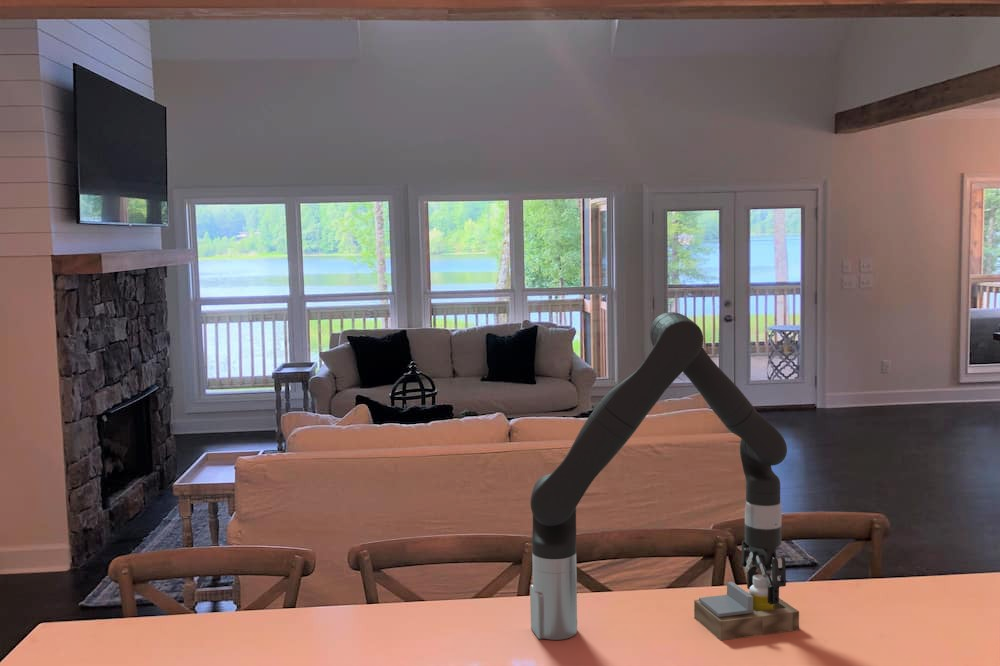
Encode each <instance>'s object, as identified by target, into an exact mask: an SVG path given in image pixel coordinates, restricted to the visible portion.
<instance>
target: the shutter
mask: <svg viewBox="0 0 1000 666" xmlns="http://www.w3.org/2000/svg"><path fill="white" fill-rule="evenodd" d="M698 600H699V601H700V602H701V603H702V604H703V605H704V606H706V607H707V608H708V609H709V610H711V611H712V612H713V613H714V614H716V615H717V616H718V617H724V616H732V615H740V614H747V613H754V609H753V596H752V595H750V594H749V591H746V590H744V589H743V588H742V587H740V586H739V585H738V584H736V583H735V582H733V581H727V582H726V594H723V595H722V594H720V595H713V596H705V597H699V598H698Z"/></svg>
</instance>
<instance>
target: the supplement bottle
mask: <svg viewBox="0 0 1000 666" xmlns="http://www.w3.org/2000/svg"><path fill="white" fill-rule="evenodd" d="M770 577H771V580H772V576H770ZM753 584H754V585H752V586H750V588H749V589H748V593H749V594H750V595H752V596H753V609H754V610H755V611H756V612H757V611H765V610H773V609H775V604H772V605H771V604H769V603H768V583H767V580H766V578H765V577H763V575H762V573H761V574H759V573H758V574H757V575H754V576H753Z"/></svg>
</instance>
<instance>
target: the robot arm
mask: <svg viewBox="0 0 1000 666" xmlns="http://www.w3.org/2000/svg"><path fill="white" fill-rule="evenodd" d="M702 331H703V330H701V328H700V326H699V325H698V324H697V323H695V321H693V320H692V319H690V318H689V317H688V316H686V315H684V314H681V313H679V312H676V311H675V312H674V311H673V312H672V311H668V312H664V313H661V314H660V315H658V316H657V317H655V319H654V320H653V322H652V323H651V326H650V330H649V337H650V342H651V344H652V347H653V348H651V350H650V352H649V353H648V355H647V356H646V358H645V359H644V360H643V362H642V363H641V364H640V365H639V367H638V368H636V370H635V371H634V372H633V373H631V375H629V376H628V377H627V378H625V379H623V381H621V382H619V383H618V384H617V385H616V386H614V387H613V388H612V389H610V390H609V391H608V392H607V393H606V394H605V395H604V397H603V398H602V399H601V400H600V401H599V403H598V404H597V405H596V406H595V407H594V408H593V411H592V412H591V413H590V414H589V416H588V417H587V419H586V421H584V424H583V425H582V427H581V429H580V430H579V432H578V434H577V436H576V437H575V439H574V442H573V443H572V445H571V446H570V449H569V451H568V453H567V454H566V455H565V458H564V459H563V460H562V461H561V462H560V464H559V465H558V466H557V467H556V468H555V469H554V470H553V472H552V473H549V474H545V475H543V476H542V477H540V478H539V479H538V480H537V481H536V483H534V486H533V487H532V491H531V495H530V501H529V502H530V509H531V512H532V533H531V534H532V535H531V536H532V537H531V549H532V550H531V551H532V553H531V554H532V555H531V556H532V557H531V558H532V561H531V562H532V584H531V585H530V586H529V591H530V592H529V595H530V606H529V607H530V629H531V630H532V632H533V633H534V635H535V636H536V638H537V639H539V640H543V639H546V640H553V641H555V640H557V641H558V640H559V641H560V640H561V641H562V640H566V639H570V638H573V637H574V636H576V634H577V633H578V598H577V597H578V594H577V593H578V592H577V591H578V586H577V583H578V582H577V581H578V580H577V506H578V505H579V503H580V502H581V500H582V498H583V497H584V496H585V493H586V492H587V490H588V489H589V488H590V486H591V484H592V483H593V481H594V480H595V479H596V477H597V476H598V475H599V474H600V473H601V472H602V471H603V470H604V469H605V467H606V466H607V465H608V464H609V463H610V462H611V461H612V459H613V458H614V457H615V456H616V455H617V454H618V453H619V452H620V450H621V449H622V448H623V447H624V446H625V444H627V442H628V441H629V440H630V438H631V437H632V436H633V435H634V433H635V432H636V431H637V429H638V428H639V427H640V425H641V424H642V422H643V421H644V420H645V418H646V417H647V415H648V414H649V413H650V412H651V410H652V409H653V408H654V406H655V405H656V404H657V402H658V401H659V399H661V397H662V396H663V394H664V393H665V392H666V390H667V389H668V388H669V387H670V386H671V385H672V384H673V382H674V381H676V379H677V378H678V377H679V376H680V375H681V374H682V373H683V374H684V375H685V376H686V377H687V378H688V380H689V381H690V382H691V383H692V385H693V386H694V387H695V389H696V390H697V391H698V392H699V394H700V395H701V397H703V399H704V400H705V402H706V403H707V404H708V406H709V408H710V409H711V410H712V411H713V413H714V414H715V416H717V417H718V419H719V420H720V421H721V422H722V424H723V425H724V426H725V427H726V429H727V430H728V431H730V433H732V434H734V435H735V436H737V437H739V438H740V442H739V453H740V454H739V455H740V460H741V463H742V469H743V474H744V477H745V483H746V484H745V485H746V486H745V507H744V540H742V541H741V553H740V554H741V558H740V565H741V567H742V568H743V567H744V570H745V572H746V573H747V574H746V581H747V582H746V585H747V586H746V587H747V588H746V589H748V590H749V588H750V586H752V585H754V584H753V576H754V575H757V574H759V572H758V571H759V570H760V572H761V574H762V575H763V577H765V578H766V580H767V583H768V603H769V604H771V605H772V604H778V603H779V598H780V588H781V587H782V588H783V587H786V585H787V578H786V577H787V576H786V574H787V572H786V571H787V569H786V559H785V557H778V556H777V548H779V547H780V546H781V545H782V506H781V480H780V478H779V476H778V475H777V474H776V473H775V472H774V471H773V468H772V467H773V466H777V465H779V464H782V462H783V461H784V460H785V459H786V456H787V454H788V446H787V443H786V440H785V438H784V437H783V435H782V434H781V433H780V432H779V430H777V428H775V427H774V425H772V424H771V423H770V422H769V420H767V419H766V418H764V417H763V416H762V415H761V414H760V413H759V412H758V411H757V409H756V408H755V407H754V406H753V404H752V403H751V402H750V401H749V399H748V398H747V397H746V395H744V393H743V391H741V390H740V388H739V387H738V386H737V385H736V383H735V382H733V381H732V380H731V378H730V377H728V375H727V374H725V372H724V371H723V370H722V369H721V368H720V367H719V366H718V365H717V364H716V363H715V362H714V360H713V359H712V358H711V357H710V355H708V353H707V352H706V350H705V349H704V348H703V345H704V335H703V332H702ZM770 576H771V577H772V580H771V577H770Z"/></svg>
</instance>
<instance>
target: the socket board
mask: <svg viewBox="0 0 1000 666" xmlns="http://www.w3.org/2000/svg"><path fill="white" fill-rule="evenodd" d="M693 602H694V603H693V605H694V606H693V607H694V610H693V611H694V612H693V613H694V615H693V616H694V617H693V618H694V619H695V620H696V619H697V620H698V621H699V623H700V624H701V625H702V626H703V627H704V628H705V629H707V631H709V632H710V633H711V634H712V635H713V636H715V637H716V638H717V639H718V640H719V641H726V640H734V639H742V638H748V637H757V636H762V635H763V636H765V635H770V634H771V635H773V634H779V633H787V632H793V631H799V630H800V611H799V609H796V608H794V607H793V606H792V605H790V604H789V603H788V602H786V601H784V600H783V599H781V598H780V597H779V603H778V604H775V609H773V610H765V611H757V612H756V611H755V610H754V613H747V614H740V615H732V616H724V617H718V616H717V615H716V614H714V613H713V612H712V611H711V610H709V609H708V608H707V607H706V606H704V605H703V604H702V603H701V602H700V601H699V599H694V601H693ZM697 620H696V621H697ZM698 621H697V622H698Z"/></svg>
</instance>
